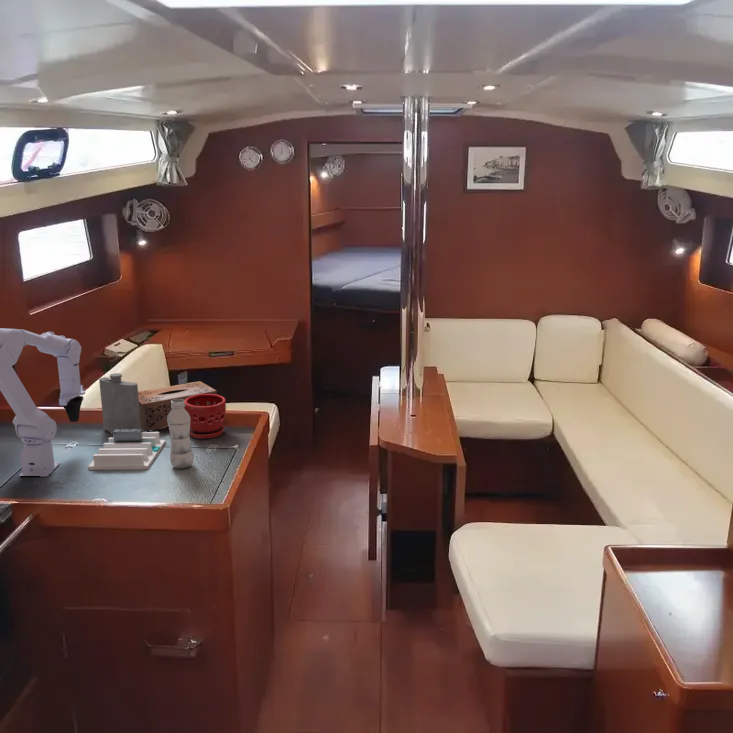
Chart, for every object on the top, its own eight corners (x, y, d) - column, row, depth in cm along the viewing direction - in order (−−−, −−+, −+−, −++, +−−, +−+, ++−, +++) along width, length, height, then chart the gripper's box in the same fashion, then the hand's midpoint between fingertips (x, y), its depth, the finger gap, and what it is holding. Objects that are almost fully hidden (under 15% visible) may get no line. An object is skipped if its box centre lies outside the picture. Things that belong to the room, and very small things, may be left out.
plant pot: (178, 439, 236) (175, 403, 233) (199, 426, 249) (196, 391, 246) (215, 443, 233) (213, 407, 230) (234, 429, 245) (232, 395, 242)
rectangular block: (141, 450, 224) (139, 431, 222) (114, 450, 224) (112, 431, 222) (143, 447, 226) (141, 429, 224) (116, 448, 226) (115, 429, 224)
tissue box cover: (144, 433, 243) (142, 404, 240) (130, 421, 254) (128, 393, 252) (218, 418, 257) (216, 390, 254) (201, 407, 268) (200, 381, 266)
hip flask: (143, 435, 240) (138, 375, 235) (134, 439, 236) (128, 379, 231) (109, 427, 248) (104, 369, 242) (99, 430, 244) (94, 372, 239)
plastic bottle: (188, 472, 211) (183, 404, 206) (166, 470, 212) (161, 403, 207) (198, 463, 217) (193, 398, 212) (176, 461, 218) (171, 396, 213)
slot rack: (147, 469, 213) (146, 456, 212) (88, 469, 213) (86, 456, 212) (165, 443, 233) (164, 430, 232) (111, 443, 233) (109, 431, 232)
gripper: (74, 384, 215) (79, 429, 218) (91, 371, 229) (95, 413, 232) (49, 384, 214) (54, 429, 218) (68, 371, 228) (72, 413, 232)
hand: (74, 421), depth 225 cm, fingers closed
